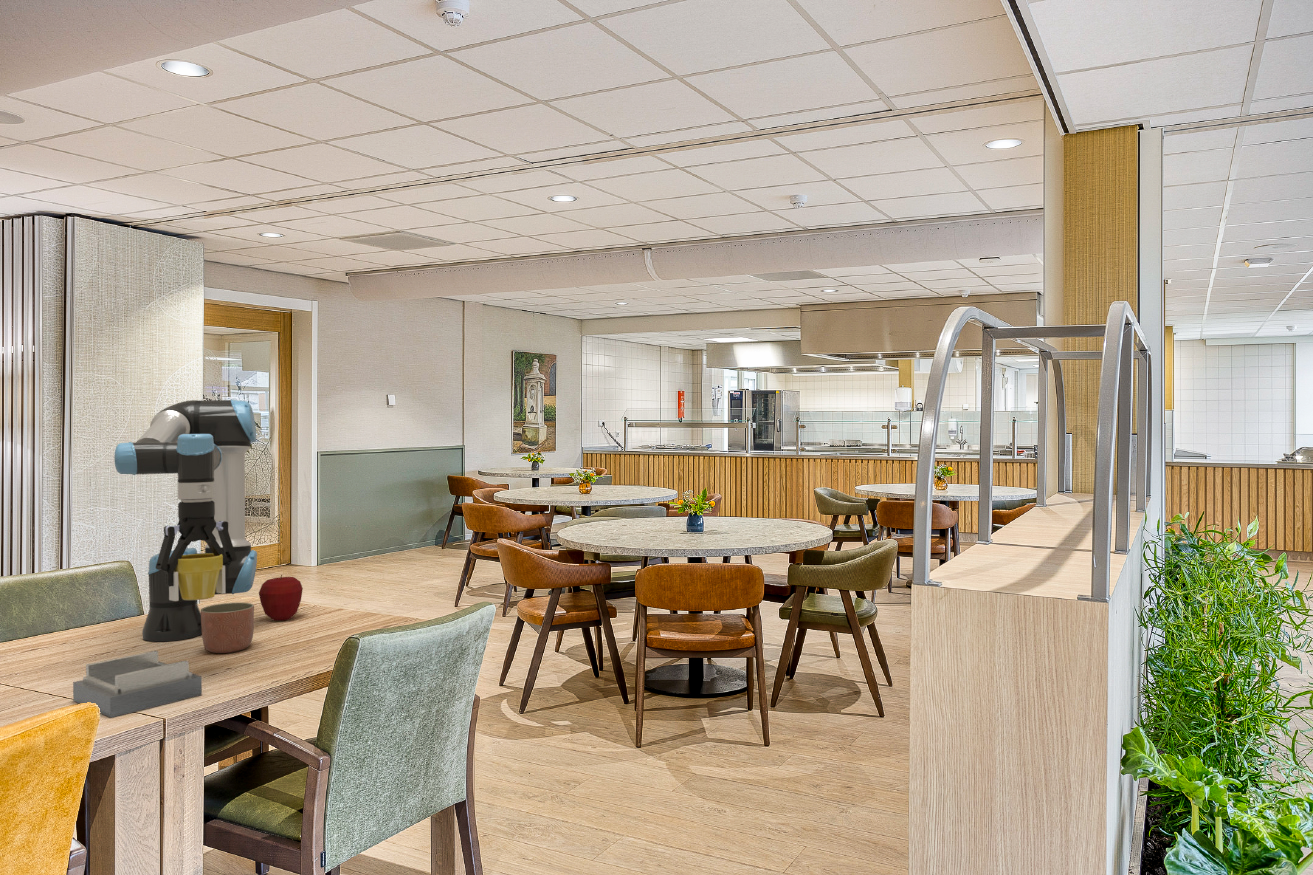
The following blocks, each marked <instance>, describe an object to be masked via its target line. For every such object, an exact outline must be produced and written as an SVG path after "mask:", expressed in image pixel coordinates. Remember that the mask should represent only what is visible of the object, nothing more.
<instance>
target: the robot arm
mask: <svg viewBox="0 0 1313 875" xmlns="http://www.w3.org/2000/svg"><path fill="white" fill-rule="evenodd" d="M256 427H257V426H256V420H255V414H254V411H253V408H252V405H251V404H250V402H248V401H246V400H238V399H237V400H235V399H225V400H224V399H223V400H221V399H220V400H219V399H215V400H211V399H210V400H208V399H207V400H198V399H192V400H185V401H181V402H177V403H174V404H171V405H169V406H167V407H165V408H164V409H162V410H160V411H159V412H157V413H156V414H155V415H154V416H153V418H151V421H150V424H149V427H148V429H147V430H146V431H145V432H144V433H143V434H142V435H141V436H140V437H139V438H138V439H137V441H136V442H132V441H128V442H121V443H118V444H117V445H116V446H115V450H114V457H113V458H114V467H115V470H116V472H118V474H120V475H133V476H136V475H157V474H158V475H162V474H163V475H164V474H169V475H170V474H177V499H178V500H180V501H179V502H178V503H177V512H178V513H177V514H178V515H177V516H178V523H177V524H176V525H165V526H164V527H163V535H164V536H163V540H162V543H161V546H160V551H159V553H157V554H155V555H153V556H152V557H150V559H149V561H148V572H147V575H148V595H149V596H148V600H149V601H148V602H149V603H148V604H149V608H148V609H149V610H148V613H147V615H146V618H145V622H144V625H143V628H142V632H141V633H142V640H144V641H146V642H172V641H180V640H186V639H192V638H195V637H199V636H202V628H201V609H200V608H199V605H198V600H183V599H182V596H181V592H180V588H179V585H178V572H176V571H174V570H175V568H176V567H177V565H178V559H181V557H182V556H183V555H189V554H205V553H213V554H214V555H215V556H220V554H222V555H223V568H222V569H221V570H220V571H219V576H218V581H217V585H216V590H215V595H234V594H241V593H243V594H245V593H248V592H249V591H250V590H251V589H252V587H253V584H254V582H255V577H256V571H257V563H258V552H257V551H256V550H254V549H252V543H250V542H249V540H247V539H246V484H245V483H246V479H245V478H246V476H245V475H246V474H245V472H246V470H245V469H246V468H245V466H246V464H245V462H246V461H245V460H246V458H245V456H246V455H245V454H246V453H247V452H248V451H249V450H250V449H251V442H252V443H253V442H256V441H257V428H256ZM178 532H179V534H180V536H179V538H178V540H177V544H176V545H175V548H174V549H173V545H174V544H175V543H174V542H175V539H176V536H177V534H178ZM198 541H203V542H205V544H206V545H204V552H202V553H201V552H199V553H198V550H197V548H196V547H189V548H188V546H189V545H191V543H193V542H198ZM172 549H173V550H172ZM215 595H214V596H215Z"/></svg>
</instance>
